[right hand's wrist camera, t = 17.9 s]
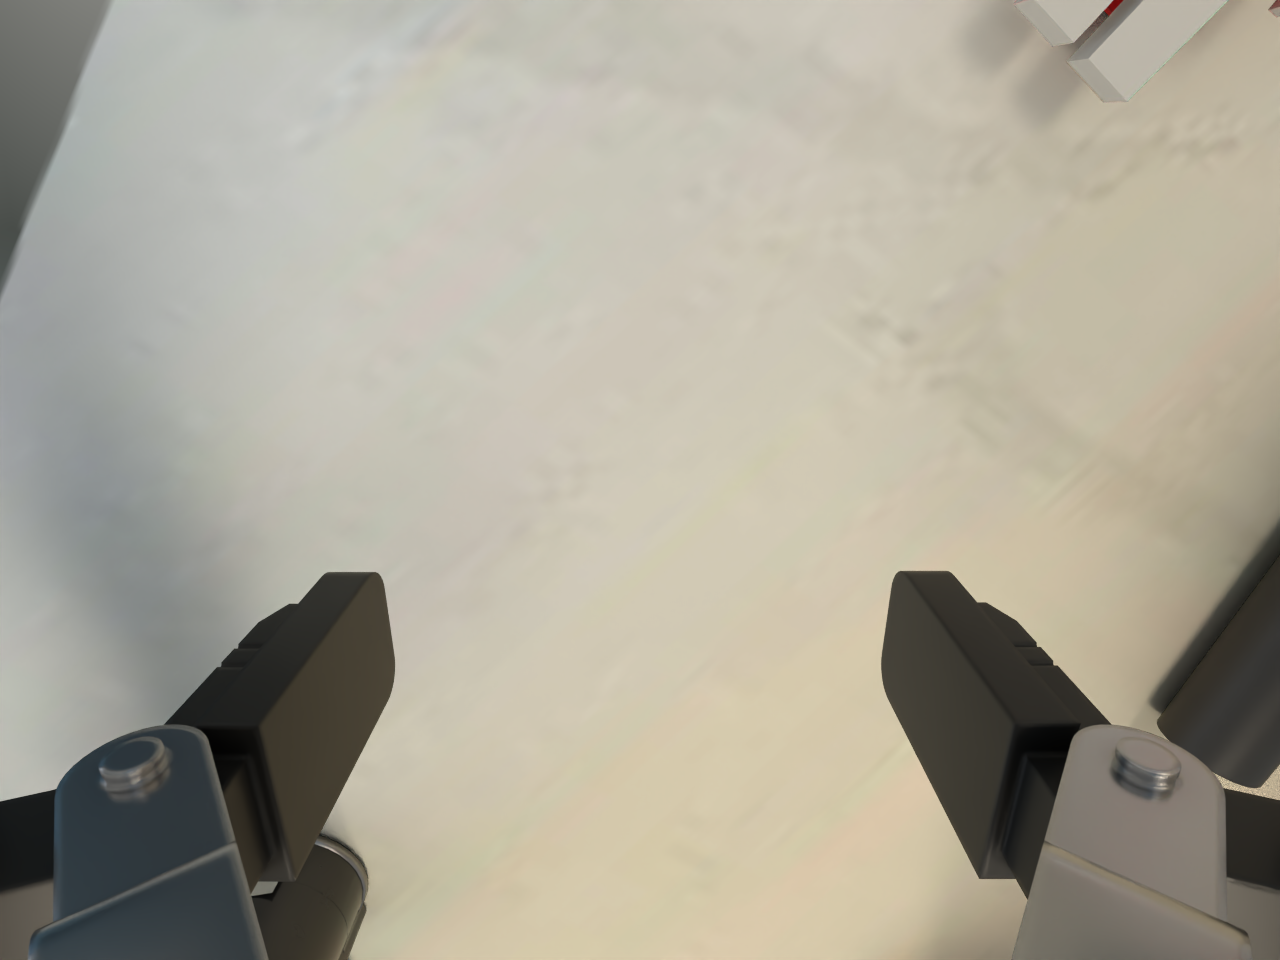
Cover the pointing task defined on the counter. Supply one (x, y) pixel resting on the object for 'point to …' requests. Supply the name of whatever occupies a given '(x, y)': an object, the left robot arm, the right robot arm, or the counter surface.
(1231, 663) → the rod
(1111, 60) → the toy
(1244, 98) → the counter surface
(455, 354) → the counter surface
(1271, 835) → the right robot arm
